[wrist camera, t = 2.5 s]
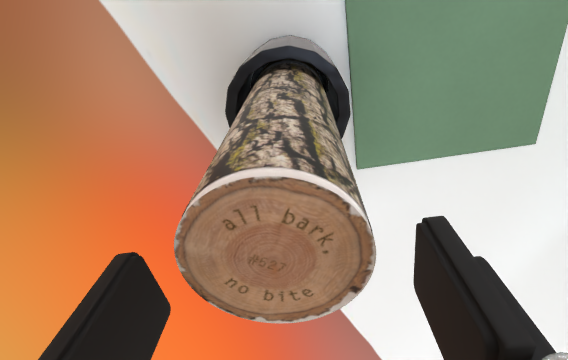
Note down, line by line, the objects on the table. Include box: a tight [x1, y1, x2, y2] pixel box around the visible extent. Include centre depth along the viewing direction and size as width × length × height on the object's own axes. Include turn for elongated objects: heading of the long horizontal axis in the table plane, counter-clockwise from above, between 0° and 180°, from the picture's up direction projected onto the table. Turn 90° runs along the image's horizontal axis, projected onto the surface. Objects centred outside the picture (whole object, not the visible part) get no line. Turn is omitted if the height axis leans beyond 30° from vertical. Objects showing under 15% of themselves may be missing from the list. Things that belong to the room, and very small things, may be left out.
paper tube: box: [174, 59, 376, 323], centre depth 21 cm, size 7×7×25 cm
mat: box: [345, 0, 568, 169], centre depth 30 cm, size 20×20×1 cm
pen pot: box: [225, 35, 350, 139], centre depth 27 cm, size 10×10×9 cm
